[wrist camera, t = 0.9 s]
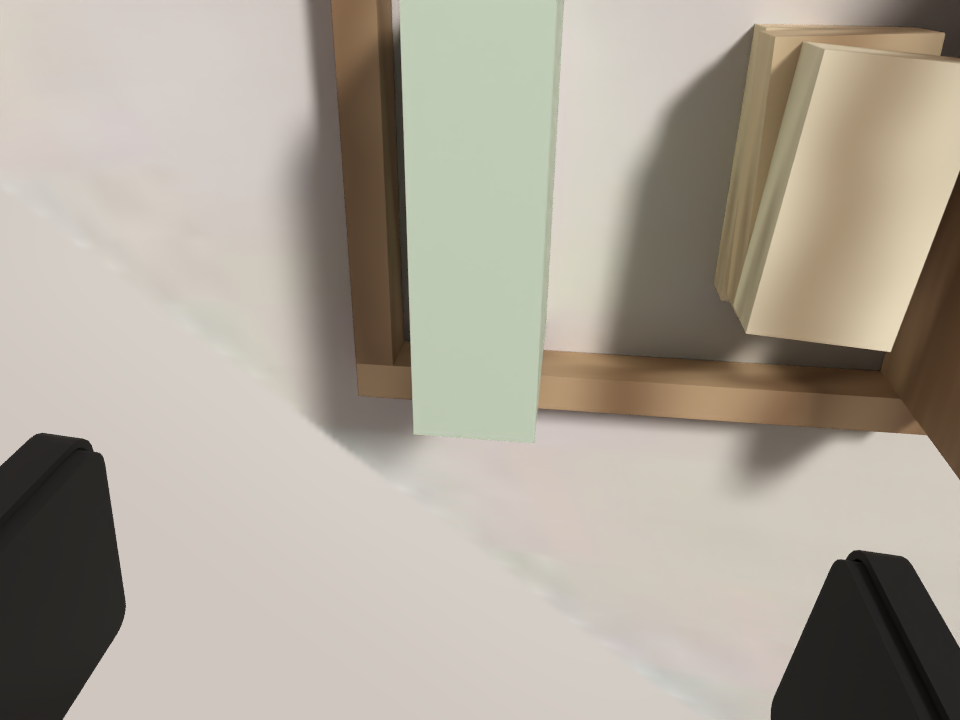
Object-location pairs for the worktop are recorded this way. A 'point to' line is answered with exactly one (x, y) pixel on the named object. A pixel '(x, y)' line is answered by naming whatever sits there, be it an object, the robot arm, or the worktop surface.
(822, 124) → the offcut top
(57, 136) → the worktop surface
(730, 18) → the worktop surface
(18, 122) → the worktop surface
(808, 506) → the worktop surface
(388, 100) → the frame
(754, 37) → the offcut bottom
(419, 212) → the panel
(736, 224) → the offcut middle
